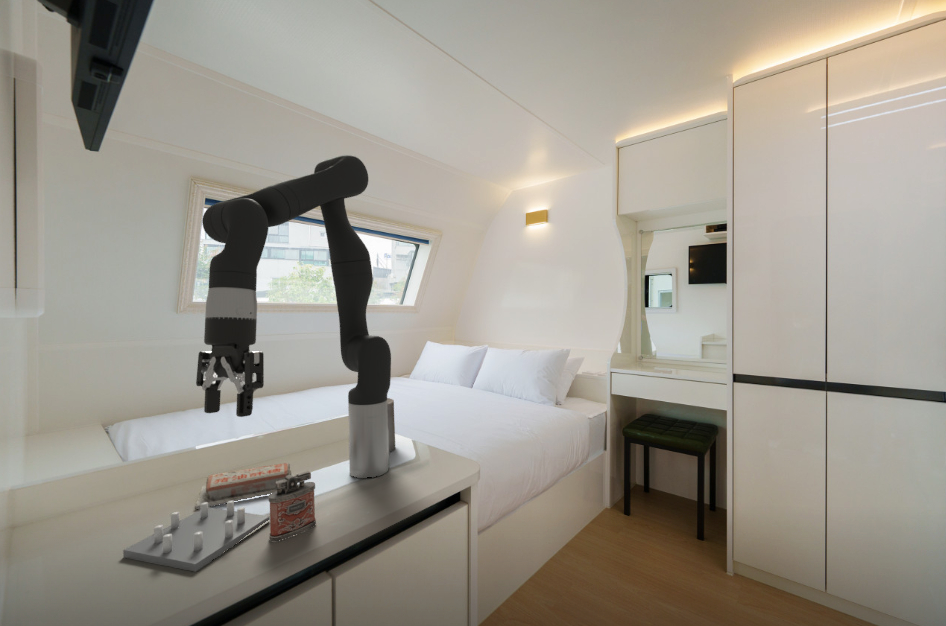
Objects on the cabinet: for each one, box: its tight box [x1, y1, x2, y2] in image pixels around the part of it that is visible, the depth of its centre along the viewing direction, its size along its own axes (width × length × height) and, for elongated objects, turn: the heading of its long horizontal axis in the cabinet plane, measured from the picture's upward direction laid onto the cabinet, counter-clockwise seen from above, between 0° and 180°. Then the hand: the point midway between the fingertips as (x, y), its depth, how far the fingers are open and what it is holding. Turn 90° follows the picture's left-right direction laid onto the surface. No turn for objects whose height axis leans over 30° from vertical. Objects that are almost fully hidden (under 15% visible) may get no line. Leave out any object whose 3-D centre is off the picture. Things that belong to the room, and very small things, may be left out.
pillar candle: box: [387, 397, 396, 453], centre depth 117 cm, size 10×10×15 cm
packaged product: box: [194, 462, 292, 510], centre depth 91 cm, size 18×5×10 cm
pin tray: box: [122, 501, 270, 573], centre depth 72 cm, size 15×15×4 cm
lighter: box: [268, 470, 317, 542], centre depth 74 cm, size 8×3×10 cm, turn 138°
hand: (227, 414), depth 69 cm, fingers open, 8 cm apart
